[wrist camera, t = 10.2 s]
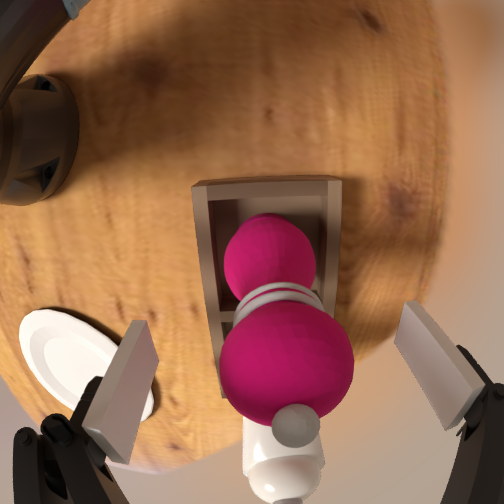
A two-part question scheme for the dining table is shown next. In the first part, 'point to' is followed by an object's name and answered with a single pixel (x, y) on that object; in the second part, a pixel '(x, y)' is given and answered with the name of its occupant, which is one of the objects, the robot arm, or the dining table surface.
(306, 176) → the wooden compartment tray
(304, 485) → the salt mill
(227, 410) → the dining table surface
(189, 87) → the dining table surface
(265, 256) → the pepper mill
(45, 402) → the dining table surface
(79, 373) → the plate
